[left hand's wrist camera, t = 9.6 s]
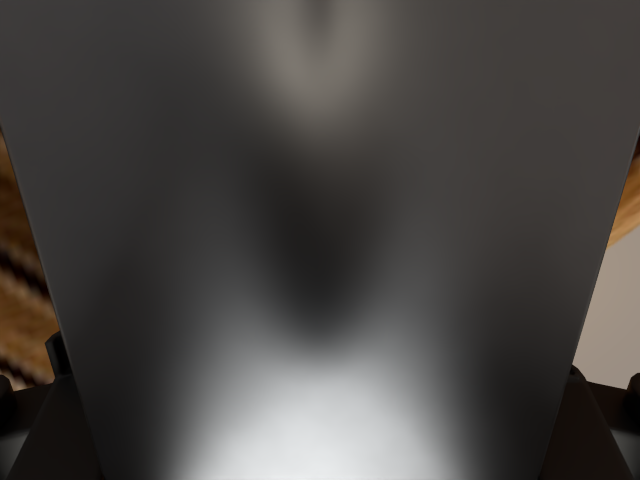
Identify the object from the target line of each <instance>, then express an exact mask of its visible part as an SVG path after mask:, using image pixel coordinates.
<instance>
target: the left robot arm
mask: <svg viewBox="0 0 640 480" xmlns="http://www.w3.org/2000/svg"><path fill="white" fill-rule="evenodd" d="M45 346H46V349H47V352H48V355H49V359H50V362H51V365H52V368H53V372H54V375H55V379H54V382H53V383H50V384H47V385H42V386H37V387H32V388H28V389H23V390H18V391H13V389H12V386H11V383H10V380H9V379H8V378H7V377H5V376H4V375H0V480H104V478H103V475H102V471H101V468H100V464H99V461H98V458H97V454H96V451H95V447H94V444H93V441H92V437H91V434H90V430H89V427H88V424H87V420H86V417H85V413H84V410H83V407H82V403H81V400H80V396H79V393H78V390H77V386H76V383H75V379H74V376H73V373H72V369H71V366H70V362H69V359H68V355H67V352H66V349H65V345H64V342H63V338H62V335H61V332H60V331H58V332H57V333H55V334H53V335H52V336H51V337H50V338H49V339H48V340H47V341H46V342H45ZM538 480H640V373H637V374H635V375H634V376H633V377H631V379H630V382H629V385H628V388H627V390H625V389H621V388H616V387H611V386H606V385H602V384H597V383H592V382H588V381H586V379H585V377H584V376H583V374H582V373H581V372H580V371H579V369H578V368H576V367H575V366H574V365H572V366H571V369H570V373H569V376H568V380H567V383H566V386H565V390H564V393H563V397H562V400H561V404H560V407H559V410H558V414H557V417H556V421H555V424H554V427H553V431H552V434H551V438H550V441H549V444H548V448H547V451H546V455H545V458H544V462H543V465H542V468H541V472H540V475H539V479H538Z"/></svg>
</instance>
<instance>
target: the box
mask: <svg viewBox="0 0 640 480" xmlns="http://www.w3.org/2000/svg"><path fill="white" fill-rule="evenodd" d="M0 127H1V131H2V134H3V137H4V141H5V144H6V148H7V151H8V154H9V158H10V161H11V165H12V168H13V171H14V175H15V178H16V182H17V185H18V189H19V192H20V195H21V199H22V202H23V206H24V209H25V212H26V216H27V219H28V223H29V226H30V229H31V233H32V236H33V240H34V243H35V246H36V250H37V253H38V257H39V260H40V263H41V267H42V270H43V274H44V277H45V281H46V284H47V287H48V291H49V294H50V298H51V301H52V304H53V308H54V311H55V315H56V318H57V321H58V325H59V328H60V332H61V335H62V338H63V342H64V345H65V349H66V352H67V355H68V359H69V362H70V366H71V369H72V373H73V376H74V379H75V383H76V386H77V390H78V393H79V396H80V400H81V403H82V407H83V410H84V413H85V417H86V420H87V424H88V427H89V430H90V434H91V437H92V441H93V444H94V447H95V451H96V454H97V458H98V461H99V464H100V468H101V471H102V475H103V478H104V480H538V479H539V475H540V472H541V468H542V465H543V462H544V458H545V455H546V451H547V448H548V444H549V441H550V438H551V434H552V431H553V427H554V424H555V421H556V417H557V414H558V410H559V407H560V404H561V400H562V397H563V393H564V390H565V386H566V383H567V380H568V376H569V373H570V369H571V366H572V363H573V359H574V356H575V352H576V349H577V346H578V342H579V339H580V335H581V332H582V328H583V325H584V322H585V318H586V315H587V311H588V308H589V304H590V301H591V298H592V294H593V291H594V288H595V284H596V281H597V277H598V274H599V270H600V267H601V264H602V260H603V257H604V253H605V250H606V247H607V243H608V240H609V236H610V233H611V229H612V226H613V223H614V219H615V216H616V212H617V209H618V206H619V202H620V199H621V195H622V192H623V189H624V185H625V182H626V178H627V175H628V171H629V168H630V165H631V161H632V158H633V154H634V151H635V148H636V144H637V141H638V137H639V134H640V0H0Z"/></svg>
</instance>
